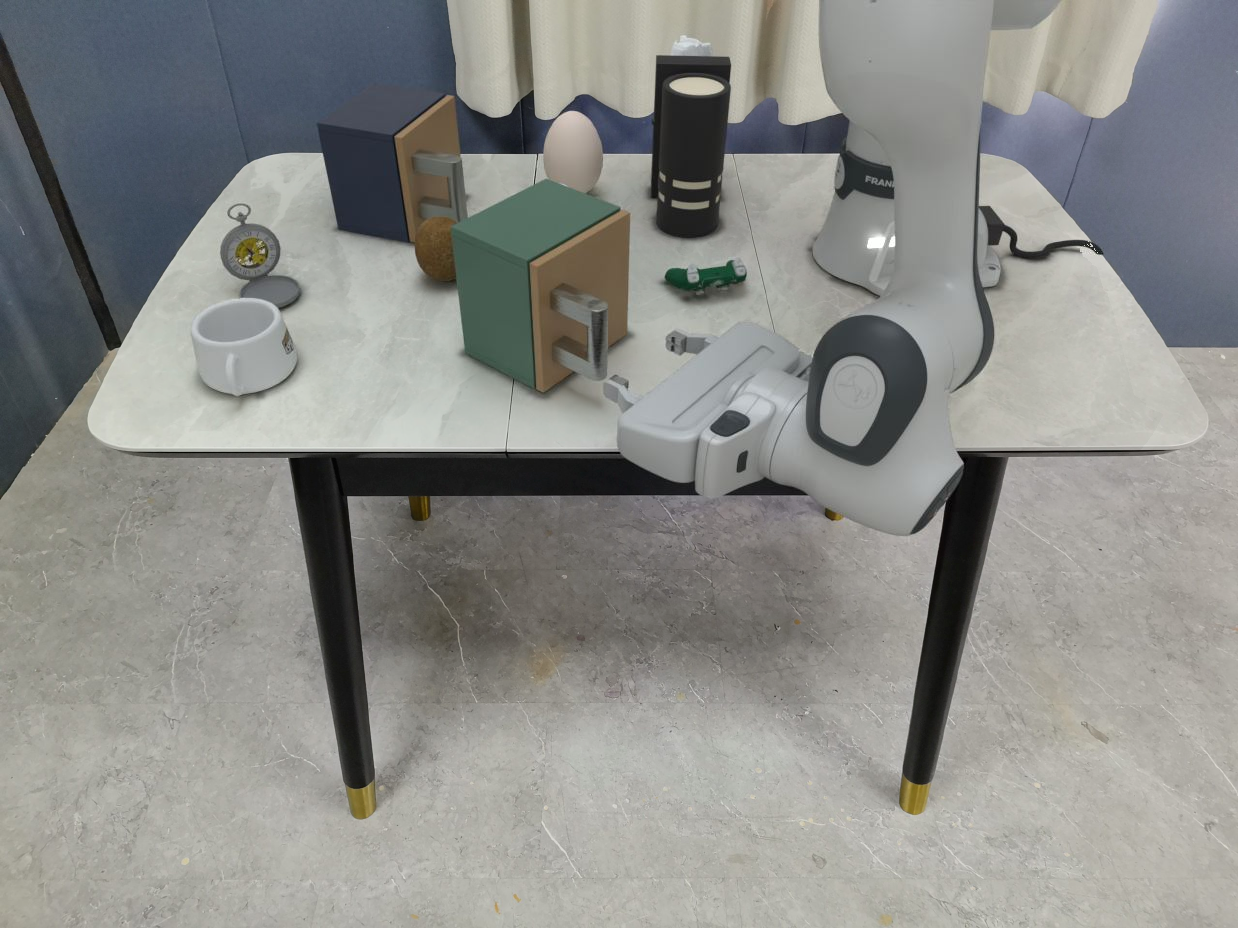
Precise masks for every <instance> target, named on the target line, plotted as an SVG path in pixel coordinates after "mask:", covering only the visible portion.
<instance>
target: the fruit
mask: <svg viewBox="0 0 1238 928" xmlns="http://www.w3.org/2000/svg"><path fill="white" fill-rule="evenodd" d="M455 224H457V223H456V222H455V221H454V220H453V219H451V218H448V217H442V216H440V217H432V218H429V219H427V220H425V221H424V222H423V223H422V224H421V226H420V227H419V229H418V230H417V233H416V235H415V242H413V243H414V255H415V258H416V261H417V264H418V266H419V268H420V269H421V270H422V272H423V273H424V274H425V275H426V276H427V277H428V278H429V279H432V280H435V281H438V282H449V281H452V280H455V279H456V270H455V261H454V253H453V244H452V235H451V226H453V225H455Z"/></svg>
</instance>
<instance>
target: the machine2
mask: <svg viewBox="0 0 1238 928" xmlns="http://www.w3.org/2000/svg"><path fill="white" fill-rule="evenodd" d="M621 208H622V207H621V206H619V205H616V204H613V203H611V202H608V201H605V200H604V199H601V198H598V197H595V196H593V195H590V194H588V193H586V194H585V193H583V192H580V191H577V190H575V189H572V188H570V187H567V186H564V185H562V184H559V183H557V182H554V181H551V180H549V179H548V178H544V179H542V180H540V181H538V182H536V183H534V184H533V185H530V186H528V187H527V188H525V189H522V190H521V191H519V192H517V193H515V194H513V195H509V197H507V198H505V199H503V200H501V201H499V202H497V203H495V204H493V205H490V206H488V207H487V208H485V209H483V210H481V211H478V212H476V213H475V214H472V215H470V216H469V217H468V218H467V219H465V220H463V221H461V222H459V223H457V224H455V225H453V226H451V235H452V244H453V253H454V261H455V270H456V278H455V279H456V286H457V295H458V304H459V310H460V311H459V313H460V321H461V330H462V337H463V346H464V347H463V348H464V353H465V354H466V355H468V356H469V357H471V358H474V359H475V360H477V361H480V362H481V363H483V364H485V365H487V366H489V367H491V368H493V369H494V370H497V371H498V372H500V373H502V374H504V375H506V376H508V377H510V378H512V379H514V380H515V381H517V382H519V383H521V384H523V385H525V386H527V387H529V388H531V389H533V390H535V389H536V372H535V354H534V335H533V317H532V299H531V281H530V263H531V262H533V261H534V260H536V259H538V258H540V257H541V256H543V255H545V254H546V253H548V252H550V251H552V250H553V249H555V248H557V247H559V246H560V245H562V244H564V243H566V242H567V241H569V240H571V239H573V238H574V237H576V236H578V235H580V234H581V233H583V232H585V231H586V230H588V229H590V228H592V227H593V226H595V225H597V224H599V223H600V222H602V221H604V220H606V219H607V218H609V217H611V216H613V215H614V214H616V213H618V212H620V211H621V210H622V209H621ZM536 390H537V389H536Z"/></svg>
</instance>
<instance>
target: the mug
mask: <svg viewBox="0 0 1238 928" xmlns="http://www.w3.org/2000/svg"><path fill="white" fill-rule="evenodd" d="M189 332H190V336H191V342H192V347H193V350H194V356H195V357H194V358H195V363H196V366H197V371H198V373H199V375H200V377H201V380H202V381H203V382H204V383H205V384H206V385H207V386H208V387H210V388H212V389H213V390H215V391H218V392H220V393H225V394H229V395H233V396H235V397H239V396H241V395H245V394H246V395H247V394H252V393H253V394H254V393H257V392H262V391H265V390H269V389H270V388H272V387H274V386H276V385H278V384H280V383H281V382H283V381H284V380H285V379H287V378H288V377H289V375H291V373H292V372H293V370H294V369H295V367H296V364H297V362H298V354H297V348H296V345H295V343H294V340H293V338H292V336H291V333H290V331H289V329H288V327H287V324H286V321H285V319H284V317H283V314H282V313H281V311H280V309H279V308H277V307H276V306H275V305H274V304H272V303H271V302H268V301H265V300H262V299H256V298H240V297H238V298H231V299H226V300H223V301H219V302H217V303H215V304H212V305H209V306H208V307H206V308H205V309H203V310H201V311H200V312H199V313H197V315H196V316H194V318H193V320H192V322H191V323H190V331H189Z"/></svg>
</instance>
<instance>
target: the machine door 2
mask: <svg viewBox="0 0 1238 928" xmlns="http://www.w3.org/2000/svg"><path fill="white" fill-rule="evenodd" d="M630 238H631V212H630V211H628V210H625V209H621V211H620V212H618V213H616V214H614V215H613V216H611V217H609V218H607V219H606V220H604V221H602V222H600V223H599V224H597V225H595V226H593V227H592V228H590V229H588V230H586V231H585V232H583V233H581V234H580V235H578V236H576V237H574V238H573V239H571V240H569V241H567V242H566V243H564V244H562V245H560V246H559V247H557V248H555V249H553V250H552V251H550V252H548V253H546V254H545V255H543V256H541V257H540V258H538V259H536V260H534V261H533V262H531V263H530V281H531V299H532V317H533V335H534V354H535V372H536V390H537V391H539V392H541V393H546V392H547V391H548V390H550V389H551V388H553V387H554V386H555V385H557V384H558V383H560V382H562V381H563V380H564V379H565V378H567V377H568V376H570V375H571V374H572V373H574V372H575V373H577V374H579V375H581V376H583V377H586V378H587V379H589V380H591V381H595V382H600V381H601V382H602V381H603V380H606V378H607V377H608V370H609V369H608V367H609V366H608V365H609V363H608V362H609V361H608V357H609V354H608V353H609V347H611V346H613V344H615V343H616V342H618V341H619V340H621V339H622V338H624V337H625V336H626V335H628V317H629V315H628V314H629V279H630V278H629V276H630V245H631V243H630V242H631V241H630V240H631V239H630Z"/></svg>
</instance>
